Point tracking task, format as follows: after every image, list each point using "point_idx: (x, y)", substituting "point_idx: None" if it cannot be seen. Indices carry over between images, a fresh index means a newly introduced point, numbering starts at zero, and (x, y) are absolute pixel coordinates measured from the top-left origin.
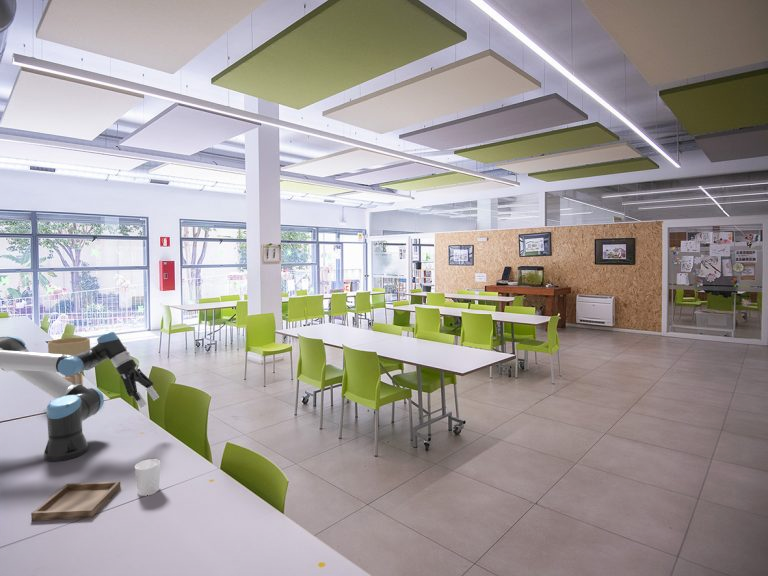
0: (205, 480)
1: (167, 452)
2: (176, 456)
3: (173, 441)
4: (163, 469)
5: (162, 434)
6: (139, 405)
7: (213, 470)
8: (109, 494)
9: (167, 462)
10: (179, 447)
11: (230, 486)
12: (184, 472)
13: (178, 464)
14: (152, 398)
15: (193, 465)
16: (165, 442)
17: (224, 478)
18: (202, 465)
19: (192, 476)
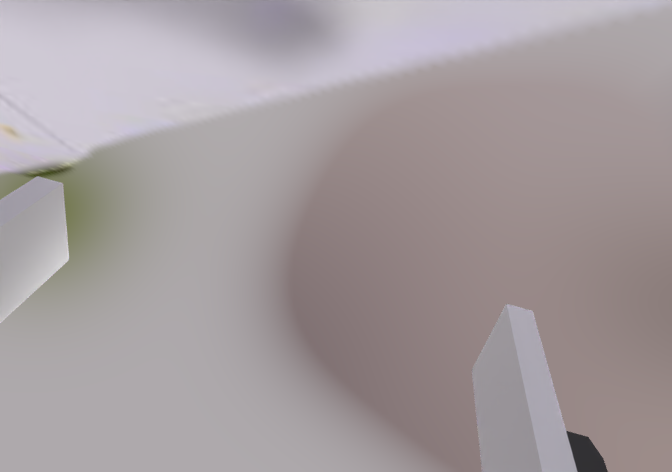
0: (3, 119)
1: (185, 35)
2: (144, 69)
3: (346, 75)
4: (7, 10)
5: (537, 17)
6: (8, 199)
7: (68, 147)
8: None
9: (75, 29)
10: (250, 92)
11: (4, 155)
12: (21, 79)
13: (72, 68)
14: (512, 336)
15: (81, 110)
16: (341, 32)
17: (35, 156)
18: (90, 132)
19: (7, 95)
